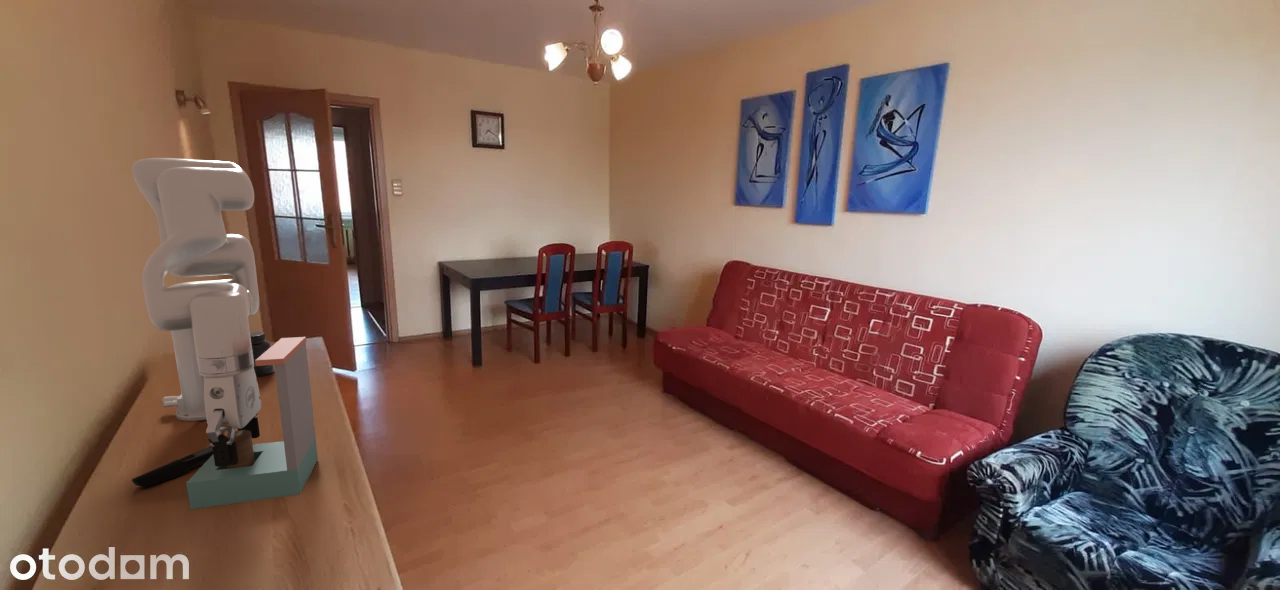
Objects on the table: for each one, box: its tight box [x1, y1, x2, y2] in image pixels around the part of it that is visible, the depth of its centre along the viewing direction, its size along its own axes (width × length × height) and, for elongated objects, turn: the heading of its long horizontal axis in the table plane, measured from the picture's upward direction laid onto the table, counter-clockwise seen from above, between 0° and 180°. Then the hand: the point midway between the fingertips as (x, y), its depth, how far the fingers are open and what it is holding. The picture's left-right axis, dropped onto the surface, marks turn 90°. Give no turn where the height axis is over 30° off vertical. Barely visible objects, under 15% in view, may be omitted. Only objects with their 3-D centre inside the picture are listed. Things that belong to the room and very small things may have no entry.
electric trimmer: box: [131, 445, 213, 489], centre depth 96 cm, size 4×16×3 cm, turn 160°
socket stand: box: [185, 336, 319, 510], centre depth 91 cm, size 16×13×26 cm
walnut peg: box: [224, 430, 255, 469], centre depth 91 cm, size 4×4×10 cm
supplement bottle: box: [250, 331, 275, 378], centre depth 144 cm, size 7×7×12 cm
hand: (238, 450), depth 91 cm, fingers open, 9 cm apart
